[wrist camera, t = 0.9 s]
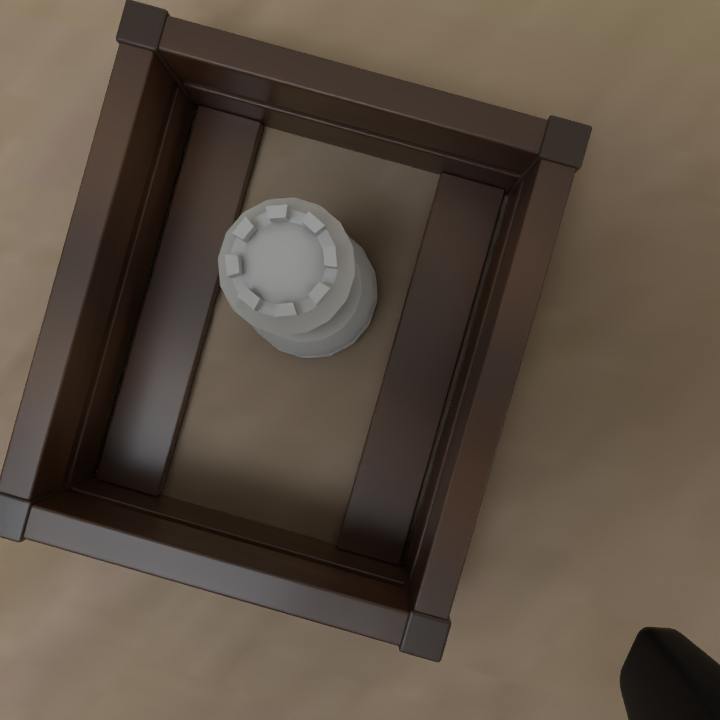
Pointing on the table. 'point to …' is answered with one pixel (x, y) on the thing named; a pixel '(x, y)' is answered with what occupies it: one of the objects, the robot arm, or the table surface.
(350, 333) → the rook chess piece
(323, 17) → the table surface
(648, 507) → the table surface
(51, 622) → the table surface
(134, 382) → the crate
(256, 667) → the table surface
